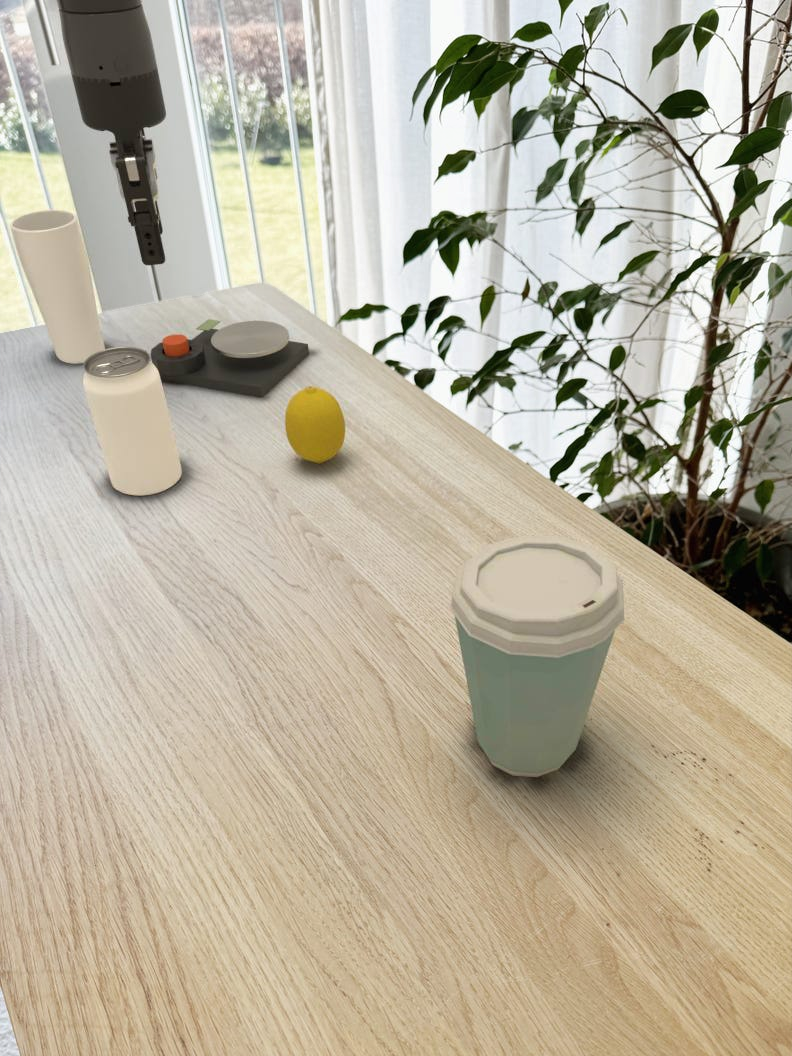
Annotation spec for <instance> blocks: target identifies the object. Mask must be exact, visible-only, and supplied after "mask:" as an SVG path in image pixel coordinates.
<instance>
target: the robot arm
mask: <svg viewBox="0 0 792 1056" xmlns="http://www.w3.org/2000/svg"><path fill="white" fill-rule="evenodd" d="M142 3H143V1H142V0H56V4H57V7H58V13H59V19H60V26H61V36H62V42H63V46H64V50H65V54H66V58H67V62H68V66H69V70H70V75H71V79H72V83H73V87H74V91H75V95H76V99H77V104H78V106H79V112H80V115H81V120H82V122H83V124H84V125H85V126H87V127H88V128H89V129H91V130H95V131H98V132H105V131H107V132H110V133H112V134H113V137H114V141H109V150H108V151H109V157H110V162H111V165H112V167H113V170H114V171H115V173H116V179H117V184H118V189H119V194H120V197H121V199H122V201H123V202H125V205H126V210H127V214H128V216H127V221H128V223H129V224H130V227H133V228H134V232H135V236H136V241H137V245H138V250H139V254H140V258H141V262H142V264H143V265H145V266H154V265H155V266H156V265H163V264H165V262H166V254H165V249H164V245H163V241H162V234H163V233H164V232H163V224H162V219H161V214H160V210H159V205H158V201H157V200H158V199H159V197H160V192H159V188H158V187H159V186H158V182H157V181H158V171H157V162H156V153H155V147H154V142H153V139H152V138H146V133H145V128H149V129H150V128H153V127H156V126H158V125H159V124H161V123H163V121H164V120H165V119H166V116H167V110H166V106H165V105H166V104H165V100H164V95H163V91H162V84H161V80H160V74H159V67H158V64H157V58H156V53H155V48H154V44H153V38H152V34H151V30H150V26H149V23H148V20H147V17H146V13H145V11H144V7H143V4H142Z"/></svg>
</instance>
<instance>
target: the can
mask: <svg viewBox="0 0 792 1056" xmlns="http://www.w3.org/2000/svg"><path fill="white" fill-rule="evenodd" d="M82 367H83V370H84V375H83V379H82V381H83V382H82V384H83V389H84V393H85V396H86V400H87V403H88V407H89V411H90V414H91V418H92V421H93V425H94V428H95V432H96V435H97V439H98V442H99V445H100V449H101V453H102V457H103V460H104V463H105V466H106V469H107V473H108V477H109V481H110V483H111V486H112V488H114V489H115V490H116V491H118V492H119V493H122V494H125V495H130V496H136V497H137V496H141V497H143V496H150V495H154V494H158V493H161V492H164V491H166V490H168V489H170V488H172V487H173V486H174V485H176V483H177V482H179V480H180V479H181V477H182V474H183V470H182V465H181V464H182V463H181V459H180V455H179V452H178V447H177V443H176V438H175V434H174V429H173V425H172V421H171V417H170V413H169V408H168V404H167V400H166V395H165V393H164V387H163V384H162V380H161V379H160V375H159V372H158V370H157V368H156V367H155V365H154V364H153V363H152V360H151V354H150V353H149V352H148V351H147V350H144V349H142V348H139V347H134V346H116V347H110V348H105V350H102V351H99V352H97V353H95V354H93V355H91V356H90V357H88V358H87V359H86V360H85V362H84V363H82Z"/></svg>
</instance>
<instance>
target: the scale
mask: <svg viewBox="0 0 792 1056" xmlns="http://www.w3.org/2000/svg"><path fill="white" fill-rule="evenodd" d="M218 330H219V329H216V328H212V329H211V330H209V331H204V330H202V331H201V332H200V333H199V334H198V335H196V336H195V337H194V338H192V339H190V338H187V340H188V345H189V350H190V352H189V353H188V354H185V355H182V356H176V357H171V356H166V355H165V351H164V347H163V343H162V342H159V343H157V344H156V345H155V346H154V347H152V348H151V350H150V358H151V359H150V361H151V362H152V363H153V364H154V365H155V367H156V368H157V370H158V372H159V375H160V379H161V381H165V382H170V383H177V384H181V385H186V386H194V387H199V388H205V389H210V390H215V391H222V392H227V393H234V394H237V395H245V396H249V397H254V398H255V397H256V398H260V399H261V398H264V397H265V396H266V395H267V394H268V393H269V392H270V391H271V390H272V389H273V388H274V387H276V386H277V384H278V383H280V382H281V381H282V380H283V379H284V378H285V377H287V375H288V374H289V373H290V372H291V371H292V370H293V369H295V368H296V367H297V366H298V365H299V364H300V363H301V362H302V361H303V360H304V359H305V358H307V357H308V356H309V355H310V350H309V344H308V343H305V342H299V341H292V340H289V342H288V343H287V345H286V346H285V347H283V348H282V349H280V350H279V351H277V352H274V353H272V354H269V355H265V356H261V357H254V358H233V357H228V356H224V355H221V354H219V353H217V352H216V351H215V350H214V349H213V348H212V344H211V338H212V336H213V335H214V333H215V332H217V331H218Z"/></svg>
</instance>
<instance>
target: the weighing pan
mask: <svg viewBox="0 0 792 1056" xmlns="http://www.w3.org/2000/svg"><path fill="white" fill-rule="evenodd" d="M220 323H221V320H217V319H211V318H208V319H206V320H205V321H203V322H202V323H201V324H200V325H198V326H197V327H196V328H195V329H196V330H199V331H209V330H211V329H214V328H215V327H216V326H217V325H219V324H220ZM289 341H290V332H289V331H288V329H287V328H286V327H285V326H283V325H281V324H279V323H276V322H272V321H267V320H247V321H239V322H234V323H232V324H231V323H230V324H228V325H226V326H224V327H222V328H220V329H218V331H217V332H215V333H214V335H213V336H212V338H211V344H212V348H213V349H214V350H215V351H216V352H217V353H219V354H221V355H224V356H228V357H233V358H254V357H261V356H265V355H269V354H272V353H274V352H277V351H279V350H280V349H282V348H283V347H285V346H286V345H287V343H288V342H289Z"/></svg>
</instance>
